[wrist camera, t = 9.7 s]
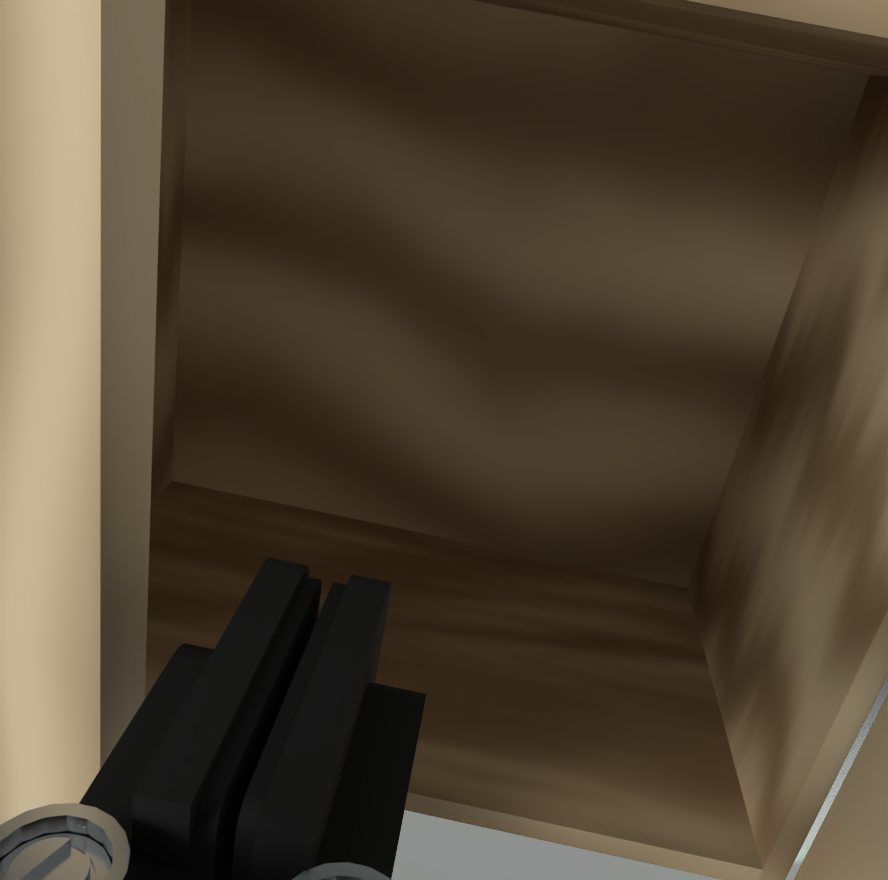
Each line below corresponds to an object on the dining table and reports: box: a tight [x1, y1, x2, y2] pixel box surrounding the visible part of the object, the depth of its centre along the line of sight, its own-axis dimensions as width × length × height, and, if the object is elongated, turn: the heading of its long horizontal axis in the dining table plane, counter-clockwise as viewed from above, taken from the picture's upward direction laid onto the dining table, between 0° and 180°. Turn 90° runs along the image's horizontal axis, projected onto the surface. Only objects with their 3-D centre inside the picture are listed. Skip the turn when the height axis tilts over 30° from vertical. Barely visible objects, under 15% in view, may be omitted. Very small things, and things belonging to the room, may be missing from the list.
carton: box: [145, 0, 888, 880], centre depth 23 cm, size 19×21×13 cm
